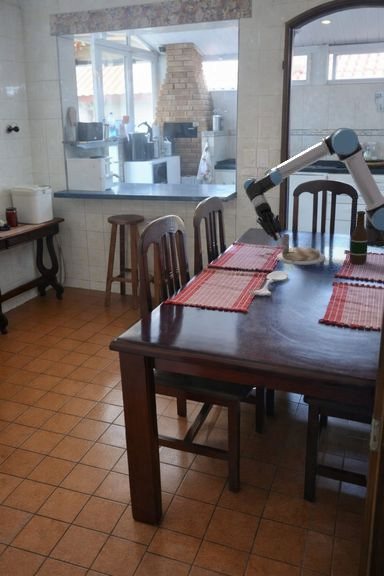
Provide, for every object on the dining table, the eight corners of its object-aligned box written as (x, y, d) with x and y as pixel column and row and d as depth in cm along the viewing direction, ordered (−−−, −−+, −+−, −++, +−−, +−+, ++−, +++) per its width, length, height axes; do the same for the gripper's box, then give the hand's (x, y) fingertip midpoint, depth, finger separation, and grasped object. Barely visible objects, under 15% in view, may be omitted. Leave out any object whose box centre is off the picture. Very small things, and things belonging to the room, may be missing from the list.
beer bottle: (364, 260, 244) (368, 209, 236) (368, 264, 236) (372, 212, 229) (347, 260, 245) (350, 210, 237) (350, 264, 237) (354, 213, 230)
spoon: (247, 299, 200) (247, 290, 199) (270, 275, 228) (270, 268, 227) (269, 301, 197) (269, 293, 196) (290, 277, 224) (290, 269, 223)
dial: (313, 250, 260) (314, 228, 256) (324, 259, 243) (325, 237, 239) (278, 252, 259) (278, 230, 255) (286, 261, 242) (287, 239, 238)
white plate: (297, 249, 266) (297, 247, 266) (334, 257, 249) (334, 255, 249) (267, 258, 253) (267, 256, 252) (304, 267, 236) (304, 265, 235)
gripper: (268, 209, 265) (288, 247, 257) (247, 212, 259) (267, 251, 251) (275, 200, 259) (295, 239, 251) (254, 203, 253) (274, 243, 245)
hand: (281, 245), depth 251 cm, fingers closed
